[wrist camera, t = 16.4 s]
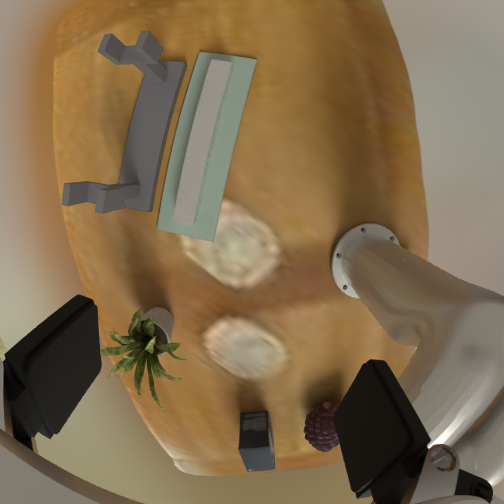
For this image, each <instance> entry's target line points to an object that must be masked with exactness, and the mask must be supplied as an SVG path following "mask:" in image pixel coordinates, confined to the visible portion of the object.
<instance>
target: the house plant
mask: <svg viewBox="0 0 504 504" xmlns="http://www.w3.org/2000/svg"><path fill="white" fill-rule="evenodd" d="M140 309H141V308H140ZM173 327H174V318H173V316H172V315H171V313H170V312H169V311H168V310H166V309H164V308H162V307H154V308H152V309H150V310H149V311H148V312H146V313H145V314H144V315H142V316H141V315H140V310H139V311H137V312H136V313H135V314H134V316H133V318H132V323H131V324H130V327H129V330H128V334H129V336H120V335H119V334H118V333H117V332H115V331H114V329H113V332H114V335H113V334H112V333H111V334H112V335H111V334H110V336H111V338H112V339H113V340H114V341H117V342H118V343H119V344H121V345H123V346H120V347H108V348H105V349H102V350H100V353H101V355H103V356H105V355H106V356H107V355H120V354H123V353H124V352H127V351H130V350H133V349H135V350H133V351H132V352H130V353H129V354H128V355H127V356H124V355H121V356H122V357H124V359H122V360H121V361H120V362H118V363H117V364H116V366H115V367H114V368H113V370H112V371H111V373H110V375H109V377H110V376H112V375H113V373H115V372H116V371H118V370H119V369H120V368H121V367H122V366H123V367H122V369H123V370H125V372H123V373H121V374H120V375H118V376H121V375H123V374H125V373H126V372H127V371H129V370H131V369H132V368H133V366H134V364H135V363H136V362H137V360H138V362H137V366H136V370H135V375H134V380H135V387H136V390H137V393H138V395H140V396H141V392H140V387H141V381H142V377H143V374H144V368H145V363H146V359H147V368H148V375H149V384H150V390H151V393H152V396H153V398H154V399H155V401H156V402H157V403H158V404H159V406H160V407H161V408H162V409H164V408H163V407H162V405H161V403H160V402H159V400H158V398H157V395H156V392H155V389H154V381H153V376H152V371H151V367H152V369H153V372H154V374H155V376H156V377H159V378H164V377H165V376H166V377H167V378H168V379H171V380H174V379H178V380H181V378H178V377H174V376H171V375H169V374H167V373H166V371H165V370H164V368H163V367H162V366H161V364H160V363H159V360H158V356H160V355H163V354H164V353H166V352H168V353H169V354H170V355H171V356H172V357H174V358H176V359H180V360H186V359H183V358H180V357H178V356H176V355H174V354H173V353H172V351H175V350H176V349H177V348H178V347H179V345H180V344H181V343H180V344H179V343H170V342H171V337H172V332H173ZM130 340H131V341H130ZM120 342H124V343H129V344H122V343H120ZM172 378H173V379H172ZM174 381H177V380H174ZM164 410H165V409H164Z"/></svg>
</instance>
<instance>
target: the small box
mask: <svg viewBox="0 0 504 504" xmlns="http://www.w3.org/2000/svg"><path fill="white" fill-rule="evenodd" d="M239 435H240V436H239V447H238V450H239V452H240V455H241V457H242V460H243V462H244V465H245V467H246V470H247V472H251V471H264V470H274V469H275V456H274V441H273V434H272V428H271V423H270V418H269V414H268V411H262V412H251V413H241V414H240V434H239Z"/></svg>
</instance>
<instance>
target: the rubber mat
mask: <svg viewBox="0 0 504 504" xmlns="http://www.w3.org/2000/svg"><path fill="white" fill-rule="evenodd" d="M211 60H220V61H228V62H232V64H233V68H234V71H233V74H232V78H231V81H230V85H229V88H228V92H227V95H226V99H225V103H224V106H223V110H222V114H221V118H220V122H219V126H218V130H217V134H216V138H215V142H214V146H213V151H212V155H211V159H210V164H209V168H208V173H207V177H206V182H205V187H204V191H203V196H202V201H201V206H200V211H199V216H198V222H197V223H195V224H194V225H190V224H185V223H180V222H176V221H173V216H174V210H175V205H176V199H177V194H178V189H179V183H180V178H181V174H182V169H183V164H184V159H185V155H186V151H187V146H188V142H189V138H190V134H191V130H192V126H193V122H194V118H195V114H196V110H197V106H198V103H199V99H200V96H201V92H202V89H203V85H204V82H205V78H206V75H207V72H208V69H209V65H210V62H211ZM256 63H257V60H256V59H250V58H244V57H238V56H231V55H224V54H215V53H206V52H200V53H199V56H198V58H197V61H196V64H195V67H194V71H193V74H192V77H191V80H190V83H189V87H188V90H187V93H186V97H185V100H184V104H183V108H182V111H181V115H180V119H179V123H178V126H177V130H176V135H175V139H174V143H173V147H172V152H171V156H170V161H169V165H168V170H167V175H166V180H165V185H164V191H163V196H162V202H161V208H160V214H159V220H158V227H157V229H158V230H162V231H167V232H171V233H175V234H180V235H184V236H189V237H193V238H197V239H202V240H206V241H211V242H213V241H214V236H215V231H216V227H217V222H218V217H219V212H220V208H221V203H222V198H223V194H224V189H225V185H226V181H227V176H228V172H229V167H230V163H231V159H232V155H233V151H234V146H235V142H236V138H237V134H238V130H239V126H240V122H241V118H242V114H243V111H244V107H245V103H246V99H247V95H248V92H249V88H250V84H251V81H252V77H253V73H254V70H255V66H256Z"/></svg>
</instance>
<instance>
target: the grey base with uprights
mask: <svg viewBox="0 0 504 504" xmlns="http://www.w3.org/2000/svg"><path fill="white" fill-rule="evenodd" d="M162 50H163V47H162V46H161V45H160V43H159V42H158V41H157V39H156V38H155V37H154V36H153V34H152V33H151V32H150V31H141V33H140V35H139V38H138V40H137V43H136V45H134V46H125V45H124V44H123V43H122V42H120V41H119V40H118V39H117V38H116V37H115V36H114V35H113V34H105V35H104V37H103V40H102V42H101V44H100V47H99V49H98V52H99V53H100V54H102V55H103V56H105V57H106V58H108V59H109V60H110V61H112V62H113V63H115V64H116V65H121V64H133V65H135V66H136V67H137V68H138V69H139V70H141V71H142V72H143V73H144V74H145V76H144V79H143V82H142V86H141V89H140V92H139V95H138V99H137V102H136V106H135V110H134V113H133V117H132V121H131V125H130V129H129V133H128V137H127V142H126V147H125V151H124V156H123V161H122V167H121V172H120V178H119V184H113V185H107V184H101V183H95V182H89V181H85V182H74V183H65V184H64V189H63V199H62V205H65V206H71V205H75V204H80V203H85V202H89V203H94V204H96V209H95V212H97V213H102V214H103V213H107V212H110V211H114V210H117V209H121V208H124V207H125V208H130V209H135V210H139V211H144V212H151V211H152V209H153V203H154V197H155V191H156V186H157V180H158V175H159V170H160V165H161V160H162V156H163V151H164V147H165V142H166V138H167V134H168V130H169V126H170V122H171V118H172V114H173V111H174V107H175V103H176V100H177V96H178V93H179V90H180V86H181V83H182V80H183V77H184V74H185V70H186V67H187V65H186V63H185V62H175V61H159V58H160V56H161V53H162Z"/></svg>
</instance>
